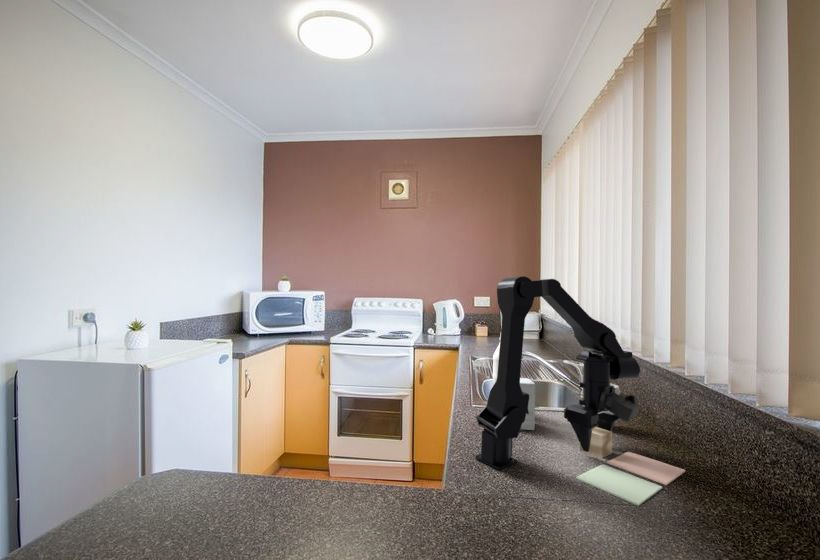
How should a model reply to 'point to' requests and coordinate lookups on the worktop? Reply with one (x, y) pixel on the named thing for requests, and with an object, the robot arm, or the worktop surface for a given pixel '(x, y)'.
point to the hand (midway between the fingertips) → (595, 447)
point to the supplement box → (529, 403)
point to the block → (600, 443)
